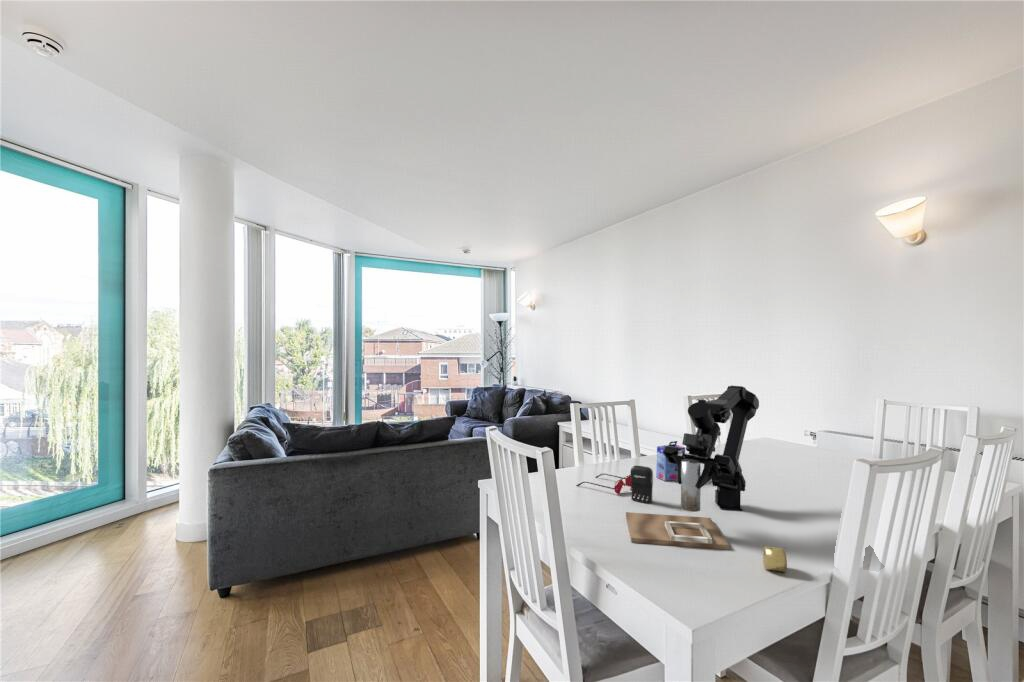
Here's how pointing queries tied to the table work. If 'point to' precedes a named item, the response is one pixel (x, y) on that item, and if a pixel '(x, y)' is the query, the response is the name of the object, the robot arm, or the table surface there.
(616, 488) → the glasses
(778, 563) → the shiny gold nugget
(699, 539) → the board
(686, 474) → the grey cylinder
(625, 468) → the table surface
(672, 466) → the ink cartridge box
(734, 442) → the robot arm
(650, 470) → the battery charger
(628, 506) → the table surface
